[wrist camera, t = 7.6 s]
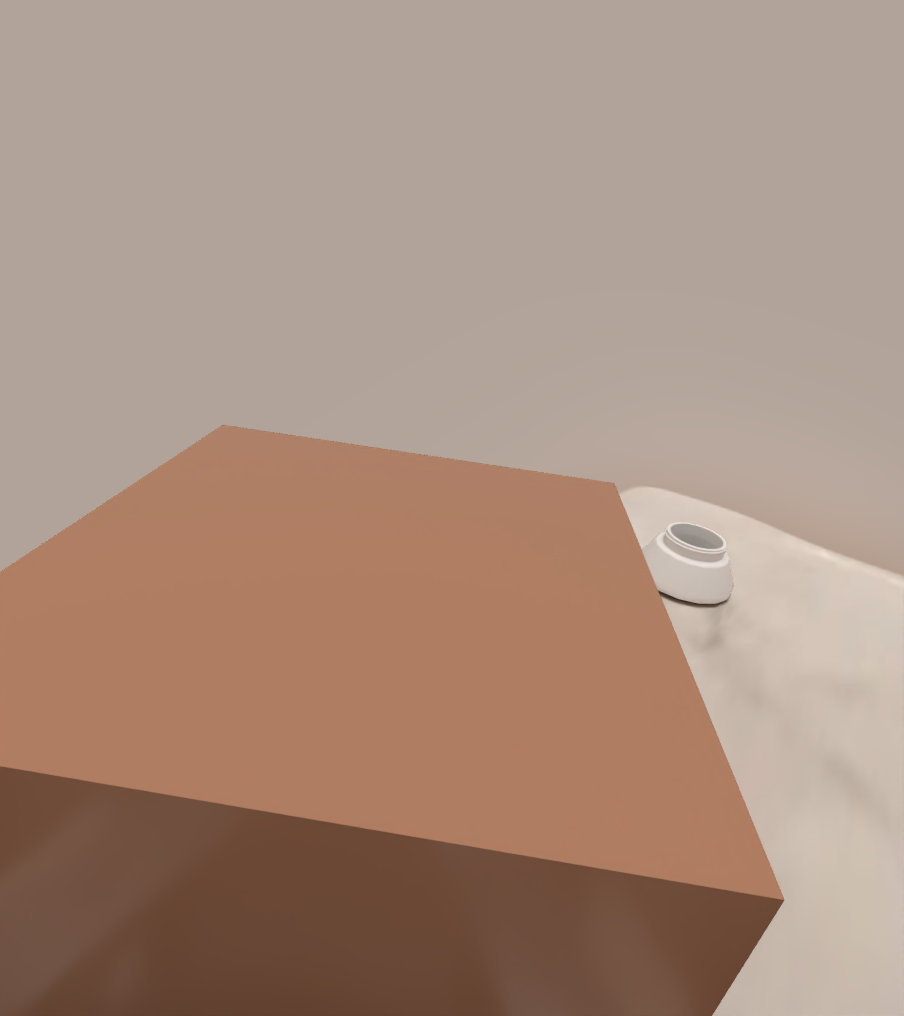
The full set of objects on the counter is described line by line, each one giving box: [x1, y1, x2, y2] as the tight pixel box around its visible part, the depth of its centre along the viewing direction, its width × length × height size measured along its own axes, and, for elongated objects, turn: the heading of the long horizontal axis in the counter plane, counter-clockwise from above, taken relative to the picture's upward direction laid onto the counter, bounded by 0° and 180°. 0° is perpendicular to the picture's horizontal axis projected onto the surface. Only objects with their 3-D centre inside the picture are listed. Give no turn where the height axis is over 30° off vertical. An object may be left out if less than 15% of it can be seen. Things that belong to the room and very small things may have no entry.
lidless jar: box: [642, 522, 734, 604], centre depth 31 cm, size 5×3×5 cm
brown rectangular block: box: [0, 425, 784, 1016], centre depth 9 cm, size 6×6×12 cm
